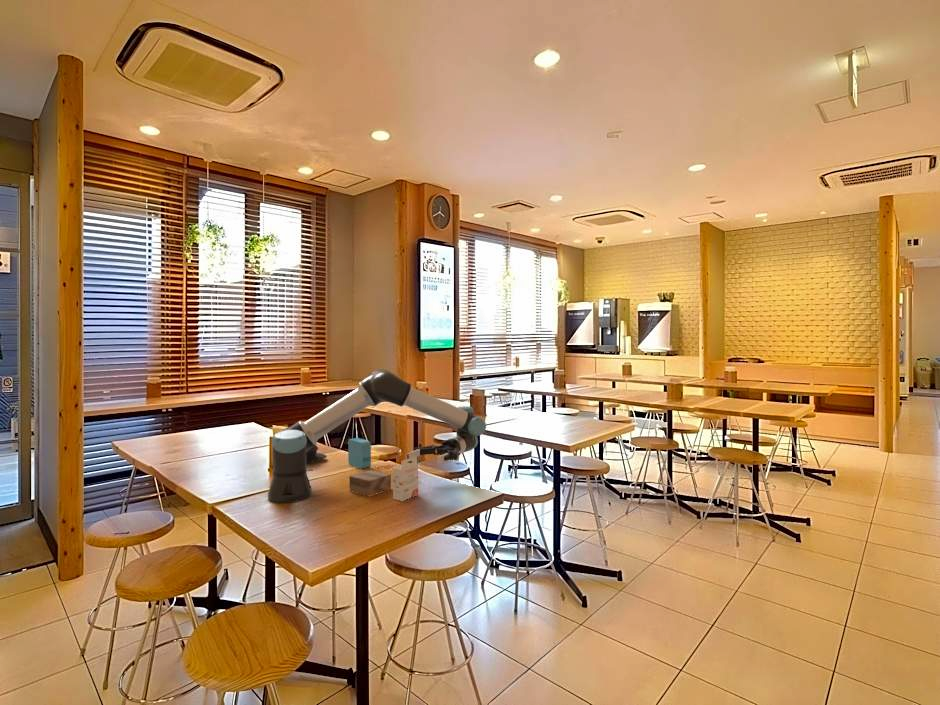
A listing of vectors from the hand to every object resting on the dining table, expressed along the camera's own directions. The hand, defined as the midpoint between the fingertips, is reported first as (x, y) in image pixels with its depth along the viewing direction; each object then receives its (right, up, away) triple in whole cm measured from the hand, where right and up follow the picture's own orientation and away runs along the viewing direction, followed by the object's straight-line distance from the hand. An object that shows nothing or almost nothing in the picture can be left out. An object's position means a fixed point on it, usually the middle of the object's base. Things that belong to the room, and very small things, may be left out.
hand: (423, 458), depth 191 cm
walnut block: (-20, -12, 0) cm, 24 cm away
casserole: (-61, -11, +41) cm, 74 cm away
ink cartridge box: (-6, -13, -9) cm, 16 cm away
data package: (-32, -11, +35) cm, 49 cm away
